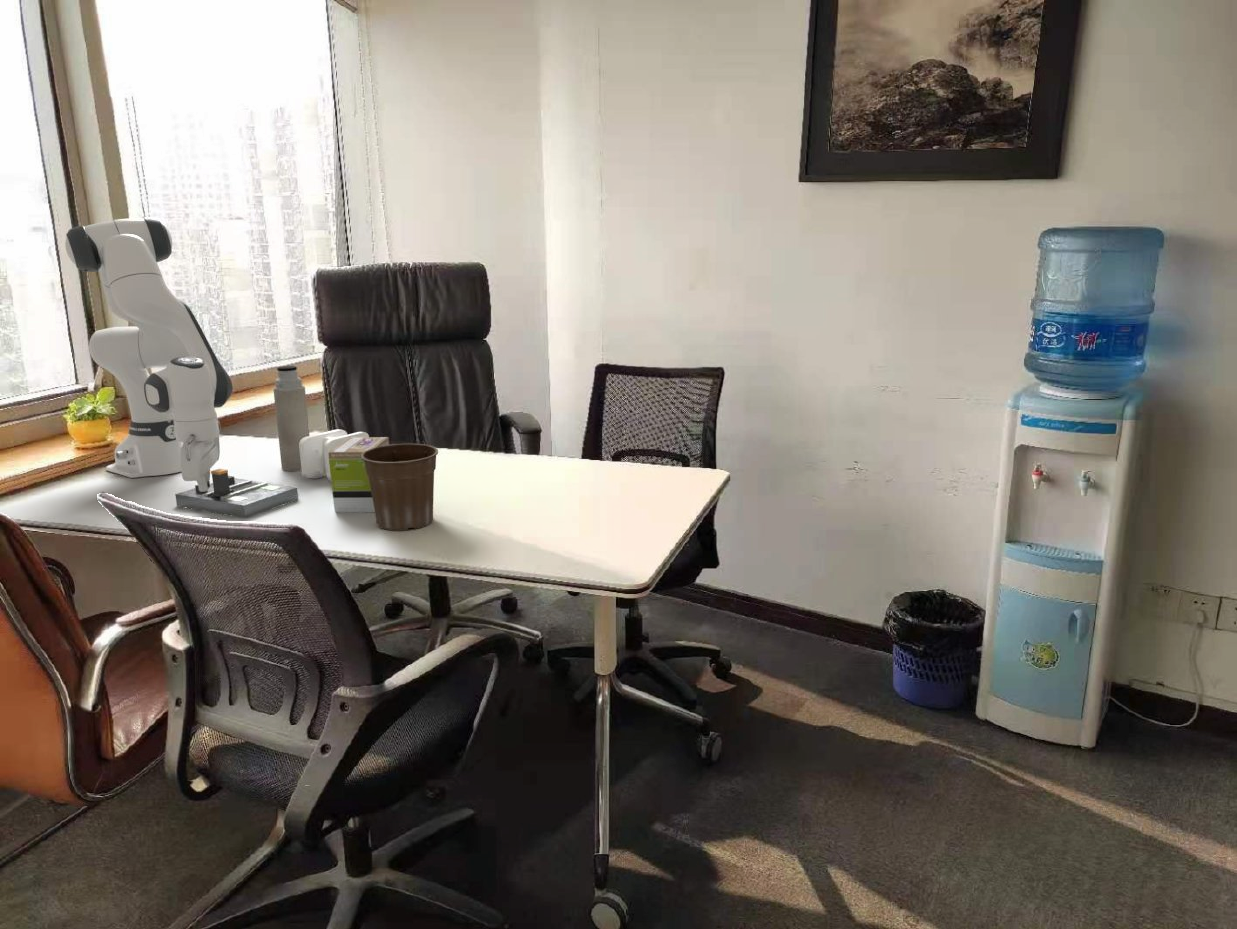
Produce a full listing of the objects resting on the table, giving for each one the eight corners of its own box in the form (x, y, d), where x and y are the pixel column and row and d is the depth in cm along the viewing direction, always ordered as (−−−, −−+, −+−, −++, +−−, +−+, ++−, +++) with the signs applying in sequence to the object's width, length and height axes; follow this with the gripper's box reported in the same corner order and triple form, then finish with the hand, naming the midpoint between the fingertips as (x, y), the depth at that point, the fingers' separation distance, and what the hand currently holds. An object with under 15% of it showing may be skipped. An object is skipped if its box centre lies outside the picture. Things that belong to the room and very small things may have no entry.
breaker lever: (210, 495, 198) (207, 471, 196) (225, 490, 201) (222, 467, 200) (219, 496, 197) (216, 473, 195) (233, 492, 200) (230, 469, 199)
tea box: (354, 494, 210) (349, 435, 206) (395, 494, 210) (390, 436, 206) (332, 513, 196) (327, 450, 192) (376, 513, 195) (371, 450, 192)
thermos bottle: (300, 462, 241) (290, 363, 234) (318, 466, 237) (309, 365, 230) (275, 468, 234) (264, 367, 227) (294, 472, 230) (283, 369, 223)
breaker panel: (176, 506, 201) (174, 487, 200) (232, 489, 215) (230, 471, 214) (245, 518, 192) (243, 498, 191) (298, 499, 206) (296, 480, 205)
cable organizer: (329, 486, 217) (325, 441, 214) (300, 480, 222) (296, 437, 219) (372, 473, 230) (369, 430, 227) (345, 468, 235) (341, 426, 232)
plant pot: (425, 536, 179) (420, 462, 175) (353, 532, 182) (347, 459, 178) (452, 513, 195) (449, 444, 191) (386, 510, 198) (381, 442, 194)
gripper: (201, 440, 182) (209, 501, 185) (221, 420, 201) (228, 477, 205) (169, 441, 181) (177, 504, 184) (192, 422, 200) (200, 479, 203)
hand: (204, 489), depth 195 cm, fingers closed
